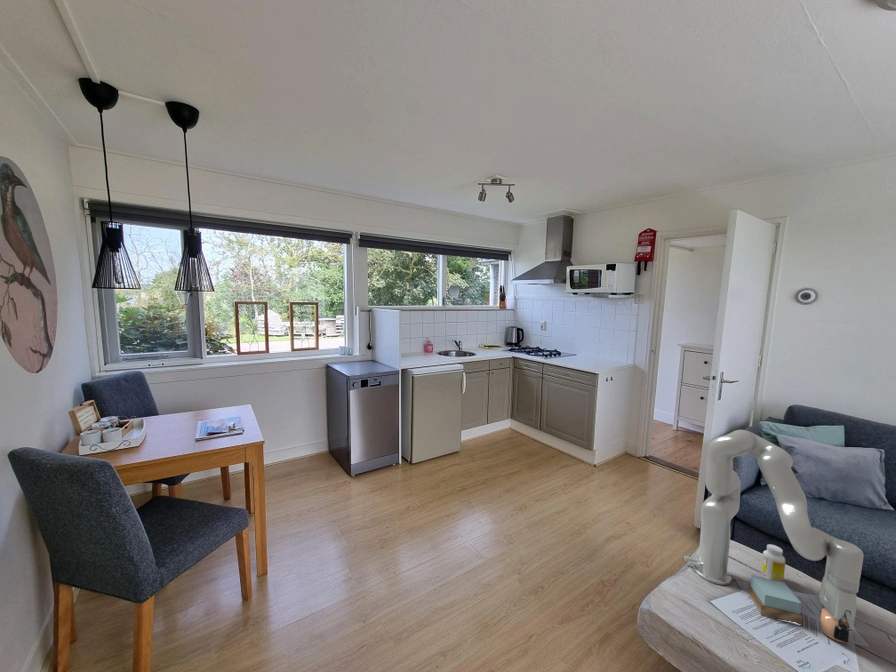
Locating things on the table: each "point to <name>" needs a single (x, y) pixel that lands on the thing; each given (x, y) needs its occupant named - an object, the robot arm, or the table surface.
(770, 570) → the supplement bottle
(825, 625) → the brown egg
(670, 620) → the table surface
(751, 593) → the tower base block
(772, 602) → the tower top block
